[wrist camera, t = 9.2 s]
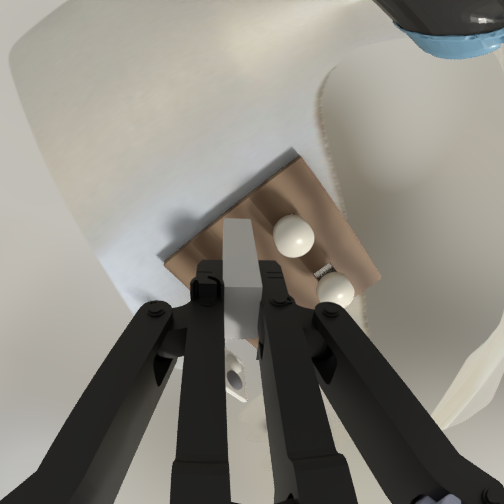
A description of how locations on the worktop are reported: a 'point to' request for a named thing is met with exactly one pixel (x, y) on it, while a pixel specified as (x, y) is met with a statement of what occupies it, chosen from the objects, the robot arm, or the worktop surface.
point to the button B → (335, 289)
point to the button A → (293, 236)
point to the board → (263, 221)
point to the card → (235, 376)
